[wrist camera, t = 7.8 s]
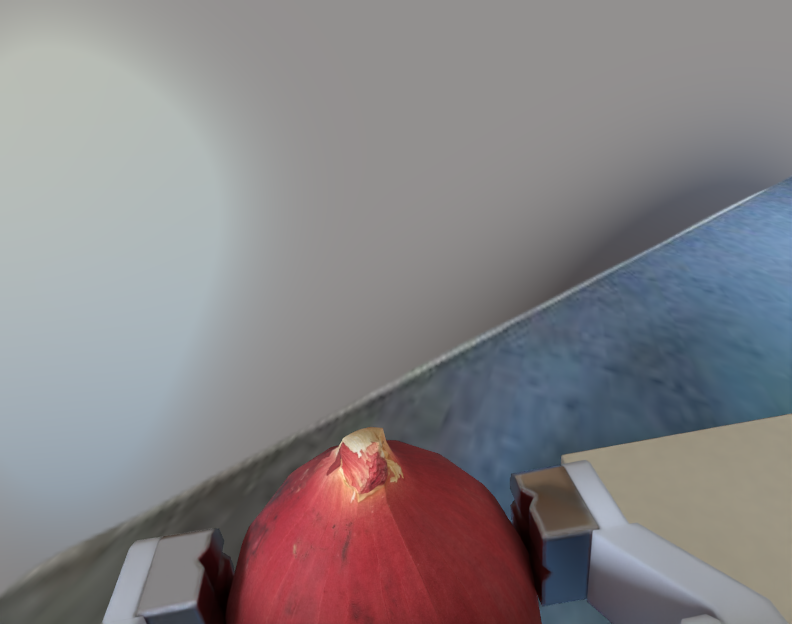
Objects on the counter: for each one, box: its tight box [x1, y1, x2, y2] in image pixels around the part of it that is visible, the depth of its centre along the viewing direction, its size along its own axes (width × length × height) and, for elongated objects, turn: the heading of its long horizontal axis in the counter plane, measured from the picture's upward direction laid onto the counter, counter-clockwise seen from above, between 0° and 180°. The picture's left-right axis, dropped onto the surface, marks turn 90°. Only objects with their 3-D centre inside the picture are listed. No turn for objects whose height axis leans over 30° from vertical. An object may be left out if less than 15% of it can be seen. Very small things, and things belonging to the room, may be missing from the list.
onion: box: [225, 427, 542, 624], centre depth 10 cm, size 6×6×8 cm
